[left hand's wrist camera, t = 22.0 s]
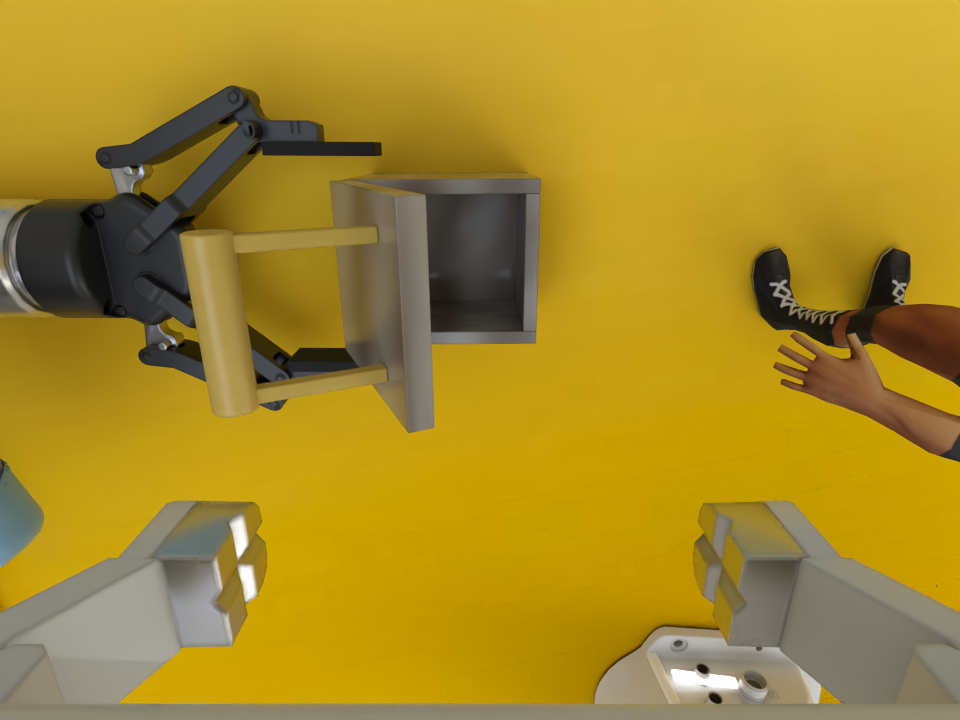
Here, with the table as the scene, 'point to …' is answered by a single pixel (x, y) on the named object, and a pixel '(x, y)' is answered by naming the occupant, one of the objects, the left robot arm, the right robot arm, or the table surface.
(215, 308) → the lid
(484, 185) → the chest
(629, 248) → the table surface
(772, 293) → the figurine
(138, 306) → the right robot arm
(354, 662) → the table surface
